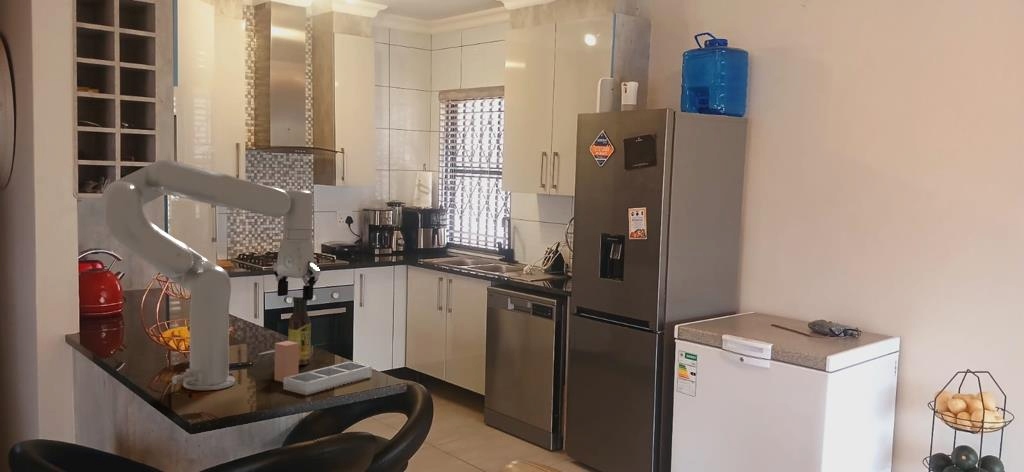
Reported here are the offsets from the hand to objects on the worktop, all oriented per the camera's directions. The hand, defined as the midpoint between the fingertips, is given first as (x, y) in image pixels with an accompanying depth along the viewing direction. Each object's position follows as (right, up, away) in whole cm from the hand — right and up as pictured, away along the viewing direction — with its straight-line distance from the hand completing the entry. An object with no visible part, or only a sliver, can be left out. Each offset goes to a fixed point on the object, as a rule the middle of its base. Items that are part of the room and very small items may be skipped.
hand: (295, 297), depth 217 cm
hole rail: (+10, -22, -5) cm, 25 cm away
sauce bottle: (-3, -21, +15) cm, 25 cm away
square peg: (-1, -22, -3) cm, 22 cm away
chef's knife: (-13, -19, +31) cm, 39 cm away
